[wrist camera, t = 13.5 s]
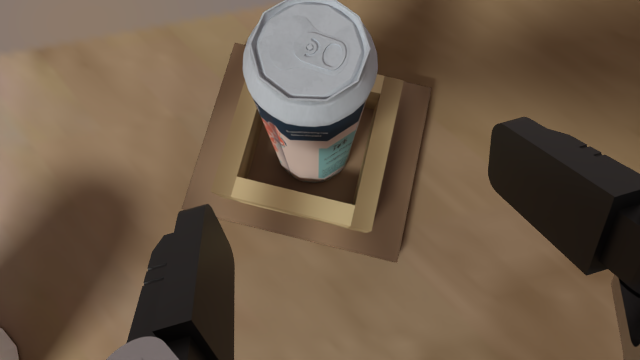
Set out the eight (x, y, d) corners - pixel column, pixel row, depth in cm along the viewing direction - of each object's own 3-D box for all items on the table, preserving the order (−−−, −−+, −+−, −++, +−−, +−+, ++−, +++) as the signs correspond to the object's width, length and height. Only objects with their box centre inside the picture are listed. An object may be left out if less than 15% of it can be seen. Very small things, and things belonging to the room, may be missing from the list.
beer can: (292, 104, 24) (269, -36, 12) (359, 128, 24) (402, 7, 12) (266, 169, 23) (212, 86, 11) (335, 195, 23) (354, 137, 11)
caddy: (426, 95, 25) (444, 69, 22) (393, 261, 23) (407, 264, 19) (238, 52, 26) (225, 20, 22) (188, 210, 24) (164, 204, 20)
